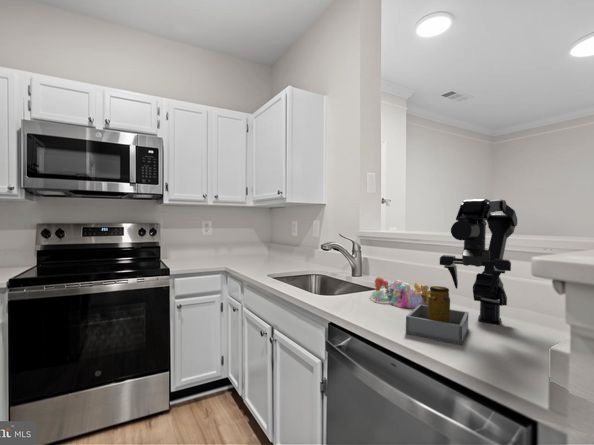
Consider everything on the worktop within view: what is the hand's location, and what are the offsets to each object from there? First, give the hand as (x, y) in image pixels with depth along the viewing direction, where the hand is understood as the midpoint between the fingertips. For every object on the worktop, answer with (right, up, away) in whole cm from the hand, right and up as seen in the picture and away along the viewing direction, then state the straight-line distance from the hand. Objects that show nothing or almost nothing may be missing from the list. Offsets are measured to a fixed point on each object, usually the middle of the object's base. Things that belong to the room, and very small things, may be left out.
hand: (473, 290), depth 95 cm
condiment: (-11, -11, -2) cm, 16 cm away
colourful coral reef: (-11, -12, +34) cm, 38 cm away
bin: (-12, -12, -2) cm, 17 cm away
